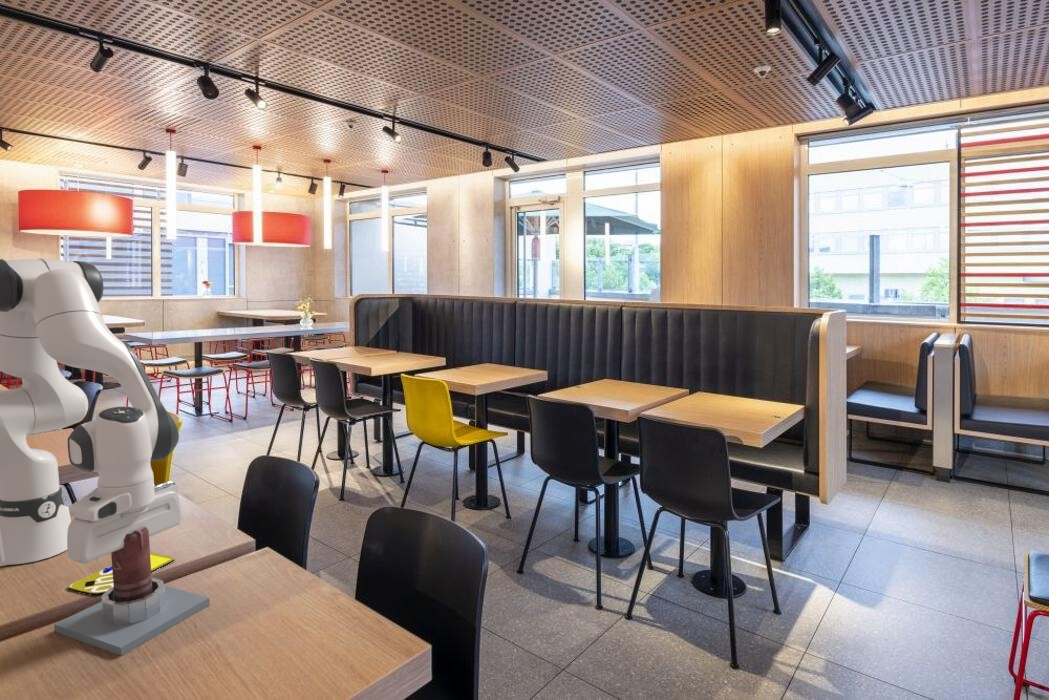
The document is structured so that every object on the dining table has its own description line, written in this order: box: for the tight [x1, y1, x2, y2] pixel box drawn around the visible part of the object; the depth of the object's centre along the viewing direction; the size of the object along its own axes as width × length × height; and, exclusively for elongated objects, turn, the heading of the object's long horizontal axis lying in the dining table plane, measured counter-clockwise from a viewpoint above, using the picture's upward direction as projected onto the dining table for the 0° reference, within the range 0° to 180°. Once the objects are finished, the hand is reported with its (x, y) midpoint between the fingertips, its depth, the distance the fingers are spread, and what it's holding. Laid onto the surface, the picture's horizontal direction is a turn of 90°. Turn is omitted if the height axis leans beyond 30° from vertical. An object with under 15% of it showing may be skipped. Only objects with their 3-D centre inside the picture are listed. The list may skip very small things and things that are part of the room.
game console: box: [68, 551, 175, 597], centre depth 135 cm, size 18×11×2 cm, turn 163°
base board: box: [53, 584, 211, 657], centre depth 118 cm, size 18×18×2 cm
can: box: [110, 527, 153, 602], centre depth 117 cm, size 6×6×14 cm
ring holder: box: [100, 577, 166, 626], centre depth 118 cm, size 10×10×4 cm
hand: (131, 564), depth 117 cm, fingers closed, pressing on can
